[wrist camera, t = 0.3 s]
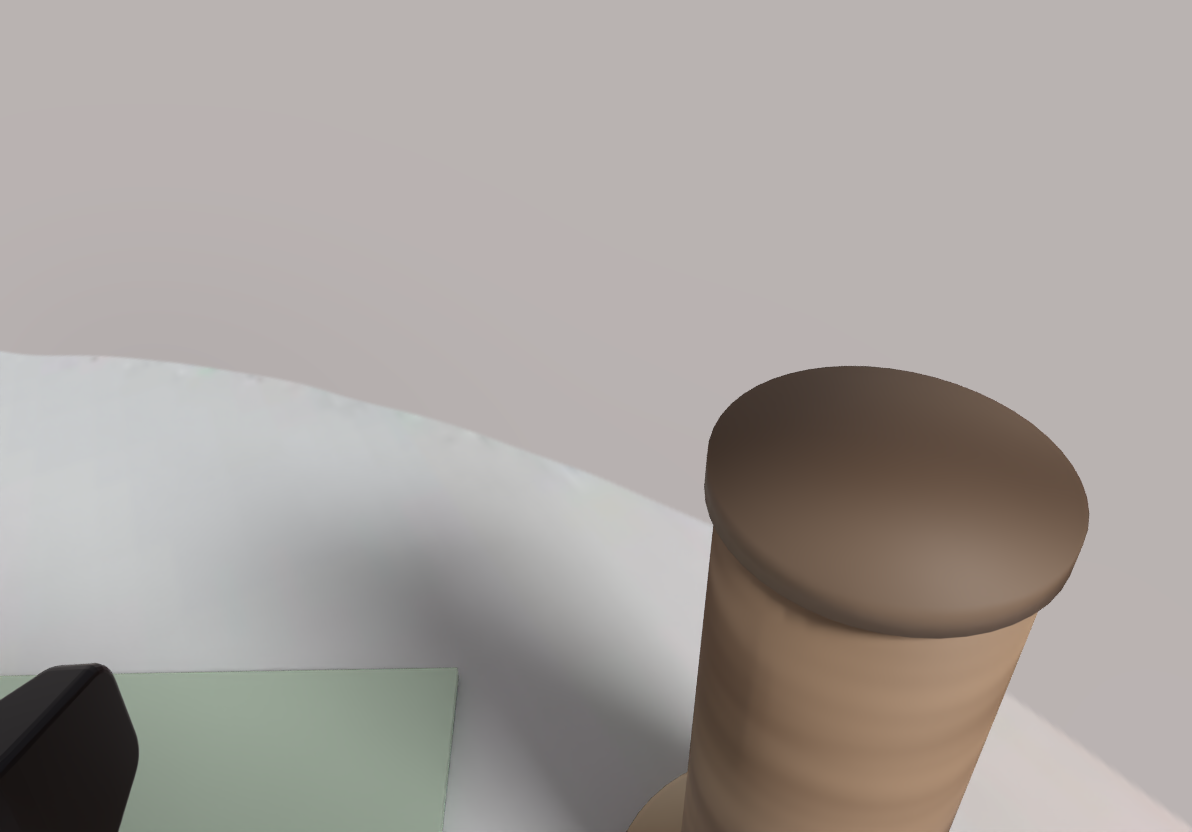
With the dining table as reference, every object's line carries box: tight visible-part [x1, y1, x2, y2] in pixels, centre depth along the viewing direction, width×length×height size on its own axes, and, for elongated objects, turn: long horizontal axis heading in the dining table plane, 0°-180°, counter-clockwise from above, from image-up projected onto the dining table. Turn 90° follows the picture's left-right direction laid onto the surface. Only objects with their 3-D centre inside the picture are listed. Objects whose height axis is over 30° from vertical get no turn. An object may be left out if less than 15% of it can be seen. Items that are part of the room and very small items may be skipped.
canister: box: [681, 366, 1089, 832], centre depth 18 cm, size 5×5×13 cm
